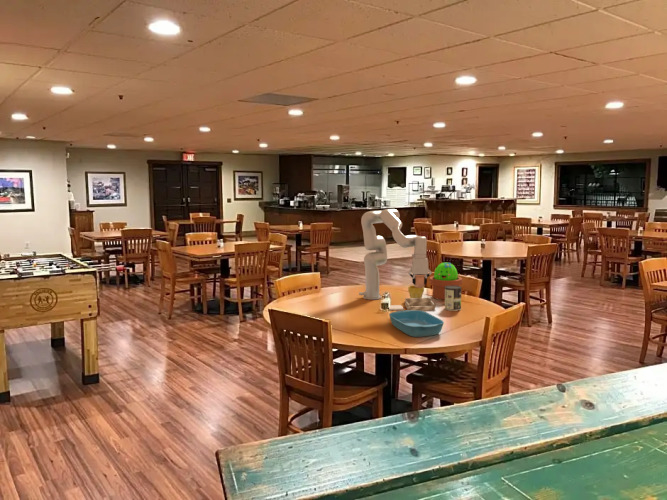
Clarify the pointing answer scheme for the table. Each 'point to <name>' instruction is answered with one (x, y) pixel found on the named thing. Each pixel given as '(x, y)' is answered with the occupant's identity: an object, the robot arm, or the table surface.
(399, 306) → the stone tile
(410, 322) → the casserole dish
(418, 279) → the terracotta pot
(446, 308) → the coffee can
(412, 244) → the robot arm
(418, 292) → the plant pot
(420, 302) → the frame
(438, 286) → the potted cactus
